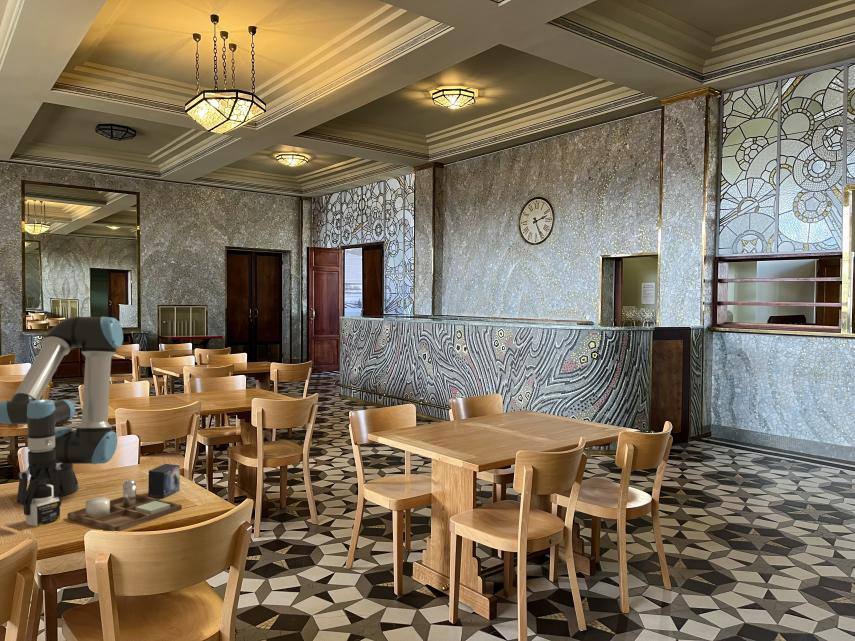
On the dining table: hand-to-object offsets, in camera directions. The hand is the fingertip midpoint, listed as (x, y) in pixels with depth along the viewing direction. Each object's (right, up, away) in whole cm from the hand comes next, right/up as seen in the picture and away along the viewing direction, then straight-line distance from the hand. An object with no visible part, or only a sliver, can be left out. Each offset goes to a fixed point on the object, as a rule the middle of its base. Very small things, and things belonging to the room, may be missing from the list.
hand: (43, 520), depth 209 cm
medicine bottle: (0, -1, 0) cm, 1 cm away
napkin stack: (+31, 0, +10) cm, 32 cm away
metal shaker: (+20, 0, +16) cm, 26 cm away
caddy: (+23, -1, +8) cm, 24 cm away
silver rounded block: (+15, 0, +5) cm, 16 cm away
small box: (+27, 0, +30) cm, 40 cm away
